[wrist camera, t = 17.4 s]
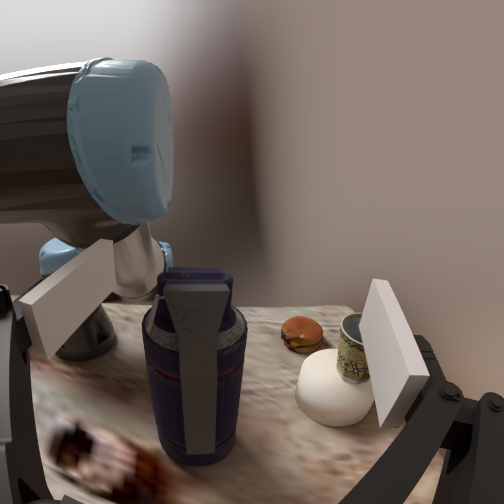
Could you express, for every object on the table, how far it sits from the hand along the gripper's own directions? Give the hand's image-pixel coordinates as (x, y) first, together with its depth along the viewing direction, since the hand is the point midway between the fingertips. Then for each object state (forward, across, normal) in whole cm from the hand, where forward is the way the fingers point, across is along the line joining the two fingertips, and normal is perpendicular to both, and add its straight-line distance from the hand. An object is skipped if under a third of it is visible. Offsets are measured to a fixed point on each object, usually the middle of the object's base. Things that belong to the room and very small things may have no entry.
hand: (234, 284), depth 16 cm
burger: (+46, +10, -38) cm, 61 cm away
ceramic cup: (+29, +19, -32) cm, 47 cm away
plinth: (+29, +16, -38) cm, 51 cm away
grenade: (+14, -6, -38) cm, 41 cm away
